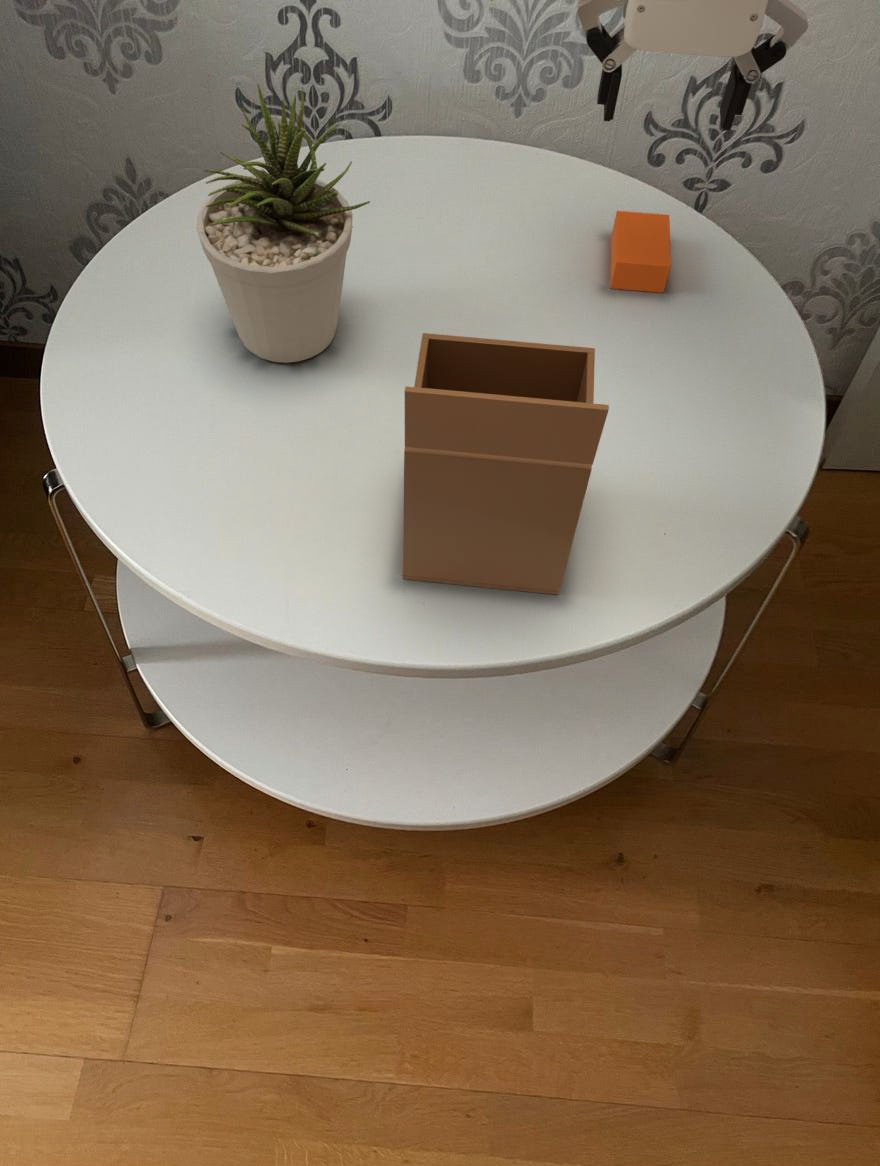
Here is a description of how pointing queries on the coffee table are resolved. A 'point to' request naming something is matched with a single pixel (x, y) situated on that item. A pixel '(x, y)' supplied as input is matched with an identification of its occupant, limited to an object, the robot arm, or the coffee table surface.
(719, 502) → the coffee table surface
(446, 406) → the carton flap
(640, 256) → the block
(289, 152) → the potted plant
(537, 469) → the carton
